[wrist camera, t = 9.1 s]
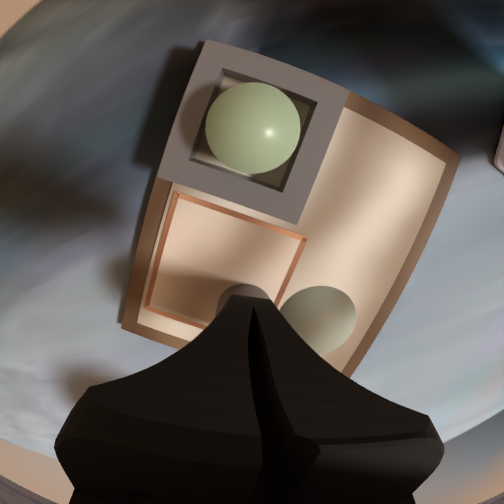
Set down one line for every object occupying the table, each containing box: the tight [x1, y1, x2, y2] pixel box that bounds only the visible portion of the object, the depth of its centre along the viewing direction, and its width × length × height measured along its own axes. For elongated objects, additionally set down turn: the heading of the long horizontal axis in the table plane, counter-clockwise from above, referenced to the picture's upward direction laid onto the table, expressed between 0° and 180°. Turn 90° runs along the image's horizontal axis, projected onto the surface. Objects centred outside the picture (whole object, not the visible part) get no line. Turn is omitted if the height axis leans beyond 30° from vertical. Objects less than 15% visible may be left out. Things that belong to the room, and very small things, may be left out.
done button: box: [205, 82, 300, 174], centre depth 13 cm, size 4×4×2 cm
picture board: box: [121, 41, 461, 378], centre depth 18 cm, size 16×18×1 cm
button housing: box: [157, 39, 350, 225], centre depth 14 cm, size 7×7×2 cm
